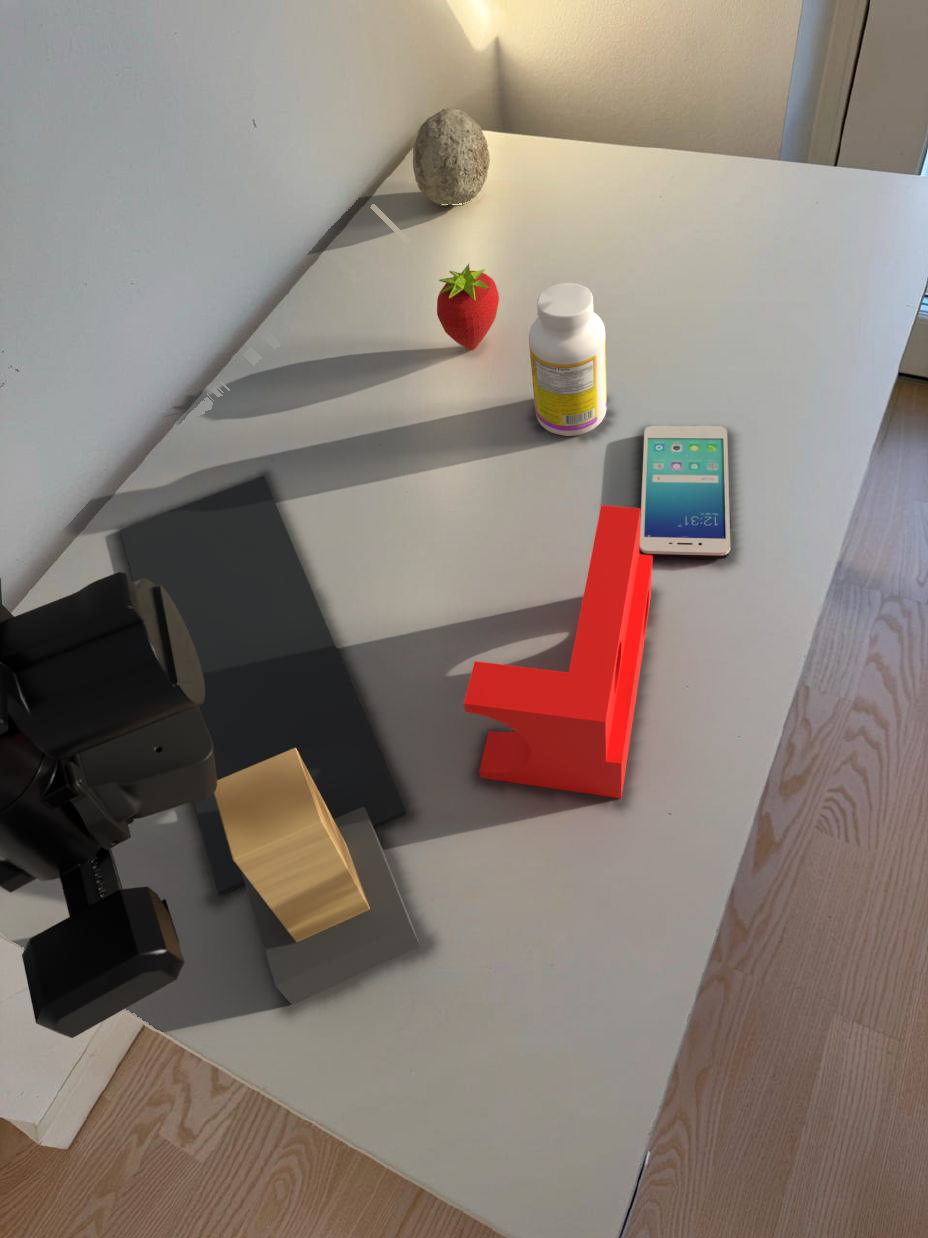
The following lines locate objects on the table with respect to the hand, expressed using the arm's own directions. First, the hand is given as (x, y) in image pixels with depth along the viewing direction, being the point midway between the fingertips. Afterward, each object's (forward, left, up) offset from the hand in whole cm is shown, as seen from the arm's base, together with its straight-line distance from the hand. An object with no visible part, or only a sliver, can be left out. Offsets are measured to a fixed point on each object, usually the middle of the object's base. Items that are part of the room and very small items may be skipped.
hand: (146, 889), depth 55 cm
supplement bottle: (+56, -10, -14) cm, 58 cm away
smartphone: (+48, -22, -13) cm, 54 cm away
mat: (+23, +9, -13) cm, 28 cm away
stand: (+5, -6, -13) cm, 16 cm away
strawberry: (+64, +2, -14) cm, 65 cm away
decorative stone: (+90, +12, -14) cm, 92 cm away
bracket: (+27, -17, -14) cm, 35 cm away
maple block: (+5, -6, -9) cm, 12 cm away
